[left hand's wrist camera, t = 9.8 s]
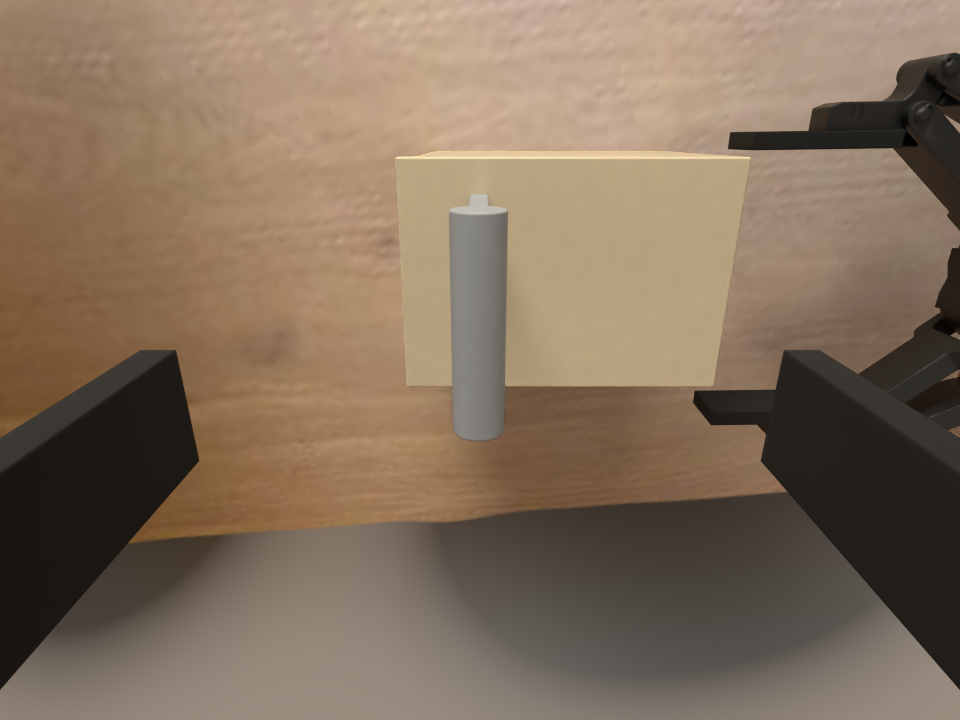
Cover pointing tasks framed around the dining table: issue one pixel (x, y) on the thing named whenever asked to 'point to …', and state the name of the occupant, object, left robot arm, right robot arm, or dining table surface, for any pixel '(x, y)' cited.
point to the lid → (563, 273)
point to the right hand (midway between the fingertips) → (719, 285)
